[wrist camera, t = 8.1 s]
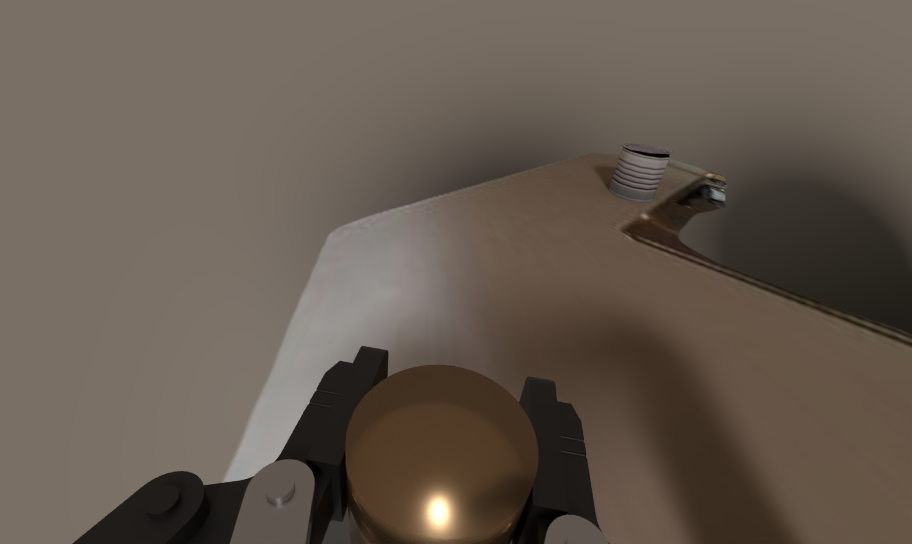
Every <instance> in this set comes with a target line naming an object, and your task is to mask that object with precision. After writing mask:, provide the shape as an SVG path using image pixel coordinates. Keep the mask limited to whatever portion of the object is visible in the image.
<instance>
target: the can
mask: <svg viewBox="0 0 912 544" xmlns="http://www.w3.org/2000/svg"><path fill="white" fill-rule="evenodd" d="M622 146H623V148H622V151H621V154H620V157H619V160H618V163H617V166H616V169H615V172H614V175H613V178H612V181H611V184H610V187H609V191H611V192H612V193H613V194H615V195H616V196H619V197H622V198H625V199H627V200H632V201H638V202H648V201H652V200H653V197H654V195H655V192H656V190H657V187H658V185H659V182H660V180H661V177H662V175H663V172H664V170H665V167H666V165H667V162H668V160H669V154H670V153H672V152H673V151H670V150H667V149H664V148H660V147H654V146H648V145H640V144H625V145H622Z"/></svg>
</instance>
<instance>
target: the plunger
mask: <svg viewBox="0 0 912 544" xmlns="http://www.w3.org/2000/svg"><path fill="white" fill-rule="evenodd" d="M345 451H346V475H347V498H348V521H349V536H350V542H351V544H510V543H511V540H512V538H513V535H514V533H515V530H516V527H517V525H518V522H519V520H520V517H521V515H522V512H523V509H524V507H525V504H526V502H527V499H528V497H529V494H530V491H531V489H532V486H533V484H534V481H535V477H536V473H537V468H538V459H539V458H538V444H537V439H536V435H535V432H534V429H533V426H532V424H531V422H530V420H529V418H528V416H527V414H526V413H525V411H524V409H523V408H522V407H521V405H520V404H519V403H518V402H517V400H516V399H515V398H514V397H513V396H512V395H511V394H510V393H509V392H508V391H506V390H505V389H504V388H503V387H501V386H500V385H499V384H497V383H496V382H494V381H493V380H491V379H489V378H487V377H485V376H483V375H481V374H479V373H476V372H474V371H471V370H467V369H464V368H460V367H454V366H446V365H427V366H419V367H414V368H410V369H406V370H403V371H400V372H398V373H396V374H393V375H391V376H389V377H388V378H386V379H384V380H382V381H381V382H380V383H378V384H377V385H376V386H374V387H373V388H372V389H371V390H370V391H369V392H368V393H367V394H366V395H365V396H364V397H363V399H362V400H361V401H360V402H359V404H358V406H357V407H356V409H355V410H354V412H353V415H352V417H351V419H350V422H349V425H348V429H347V433H346V441H345Z"/></svg>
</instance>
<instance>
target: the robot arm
mask: <svg viewBox="0 0 912 544" xmlns="http://www.w3.org/2000/svg"><path fill="white" fill-rule="evenodd" d="M387 376H388V350H383V349H377V348H372V347H366V346H362V347H361V348H360V350H359V352H358V354H357V356H356V358H355V360H354V362H353V363H349V362H344V361H339V362H338V363H337V364H335V365H334V366H333V367H332V368H331V369H329V370H328V371H327V372H326V373H325V374H324V376H323V378H322V380H321V382H320V384H319V385H318V387H317V390H316V392H315V393H314V394H313V396H312V398H311V400H310V403H309V405H307V407H306V409H305V411H304V412H303V414H302V416H301V418H300V420H299V422H298V423H297V425H296V427H295V429H294V431H293V432H292V434H291V436H290V438H289V440H288V441H287V443H286V445H285V447H284V449H283V450H282V452H281V454H280V455H279V457H278V458H277V459H276V461H275V462H274V463H271V464H269V465H267V466H266V467H264V468H263V469H261V470H260V471H259V472H258V473H257V474H256V475H255V476H253V477H251V478H248V479H245V480H240V481H233V482H226V483H219V484H211V485H203V482H202V481H201V479H200V478H199V477H198V476H197V475H195V474H193V473H190V472H184V471H177V472H172V473H167V474H164V475H161V476H159V477H158V478H155V479H153V480H151V481H150V482H148V483H147V484H145V485H144V486H143V487H141V488H140V489H139V490H138V491H136V492H135V493H134V494H133V495H132V496H130V497H129V498H128V499H127V500H125V501H124V502H123V503H122V504H120V505H119V506H118V507H117V508H116V509H114V510H113V511H112V512H111V513H109V514H108V515H107V516H106V517H105V518H104V519H102V520H101V521H100V522H98V523H97V524H96V525H95V526H93V527H92V528H91V529H90V530H89V531H87V532H86V533H85V534H84V535H82V536H81V537H80V538H79V539H78V540H76V541H75V542H74V543H73V544H322V542H323V539H324V536H325V534H326V531H327V529H328V526H329V523H330V521H331V520H334V521H339V522H343V519H344V516H345V513H346V510H347V508H348V498H347V475H346V451H345V441H346V433H347V429H348V425H349V422H350V419H351V417H352V415H353V412H354V410H355V409H356V407H357V406H358V404H359V402H360V401H361V400H362V399H363V397H364V396H365V395H366V394H367V393H368V392H369V391H370V390H371V389H372V388H373V387H374V386H376V385H377V384H378V383H380V382H381V381H382V380H384V379H386V378H387ZM519 404H520V405H521V407H522V408H523V409H524V411H525V413H526V414H527V416H528V418H529V420H530V422H531V424H532V426H533V429H534V432H535V435H536V439H537V444H538V458H539V459H538V468H537V473H536V477H535V481H534V484H533V486H532V489H531V491H530V494H529V497H528V499H527V502H526V504H525V507H524V509H523V512H522V515H521V517H520V520H519V522H518V525H517V527H516V530H515V533H514V535H513V538H512V544H609V542H608V541H607V540H606V538H605V536H604V535H603V534H602V532H601V530H600V528H599V525H598V522H597V518H596V513H595V507H594V501H593V494H592V488H591V481H590V475H589V469H588V462H587V458H586V449H585V443H584V437H583V430H582V424H581V420H580V418H579V417H578V415H577V413H576V412H575V410H574V408H573V407H572V405H571V404H568V403H563V402H558V401H557V397H556V387H555V382H554V381H550V380H545V379H539V378H534V377H527V378H526V381H525V385H524V388H523V391H522V395H521V398H520V401H519Z"/></svg>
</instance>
